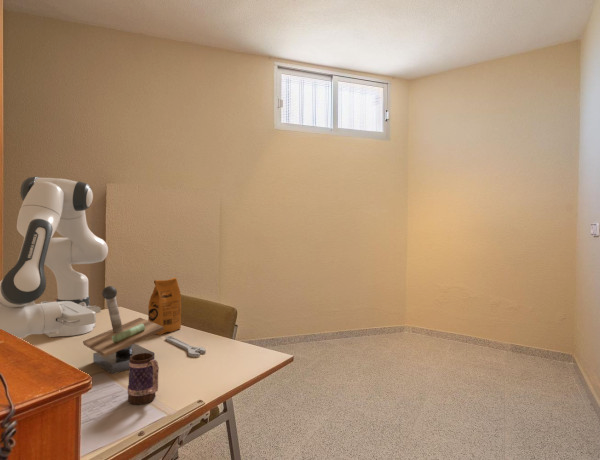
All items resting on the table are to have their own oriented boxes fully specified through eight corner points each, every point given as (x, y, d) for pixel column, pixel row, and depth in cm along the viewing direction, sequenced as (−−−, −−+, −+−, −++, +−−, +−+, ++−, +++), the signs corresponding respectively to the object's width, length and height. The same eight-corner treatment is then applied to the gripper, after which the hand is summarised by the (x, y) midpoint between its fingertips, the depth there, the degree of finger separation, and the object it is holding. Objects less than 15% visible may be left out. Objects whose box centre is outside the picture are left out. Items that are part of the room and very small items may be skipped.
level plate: (83, 344, 130) (71, 295, 126) (140, 320, 144) (131, 275, 141) (104, 357, 119) (92, 303, 116) (164, 329, 134) (154, 281, 130)
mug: (122, 399, 106) (122, 355, 105) (147, 390, 111) (147, 348, 111) (142, 412, 100) (142, 365, 99) (167, 402, 105) (167, 358, 105)
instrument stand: (93, 362, 131) (93, 340, 131) (134, 351, 142) (134, 330, 142) (112, 374, 122) (112, 350, 122) (154, 361, 133) (154, 339, 132)
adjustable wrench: (164, 341, 156) (164, 336, 156) (179, 337, 160) (179, 333, 160) (192, 359, 137) (192, 354, 137) (209, 355, 141) (209, 350, 141)
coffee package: (144, 331, 166) (144, 279, 165) (170, 324, 176) (170, 275, 175) (157, 336, 160) (158, 282, 159) (184, 329, 170) (184, 278, 169)
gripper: (63, 313, 112) (113, 304, 122) (39, 300, 125) (86, 294, 135) (63, 335, 112) (113, 325, 122) (40, 320, 125) (86, 312, 136)
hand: (98, 308), depth 129 cm, fingers closed
